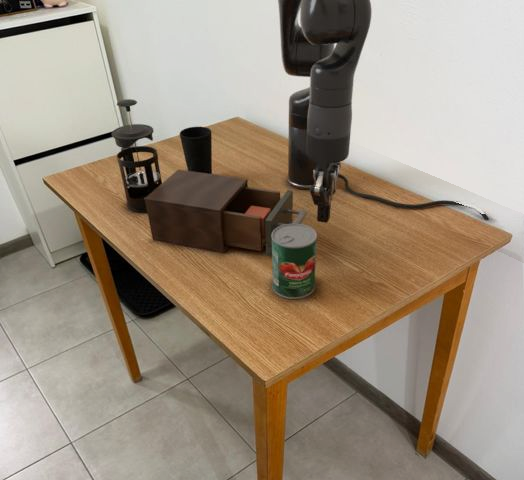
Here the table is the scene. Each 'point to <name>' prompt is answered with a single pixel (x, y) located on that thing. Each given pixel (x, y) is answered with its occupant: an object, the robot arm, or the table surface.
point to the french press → (136, 180)
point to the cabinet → (192, 209)
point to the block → (260, 212)
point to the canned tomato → (293, 260)
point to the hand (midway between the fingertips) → (323, 220)
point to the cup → (197, 149)
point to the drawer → (257, 218)
